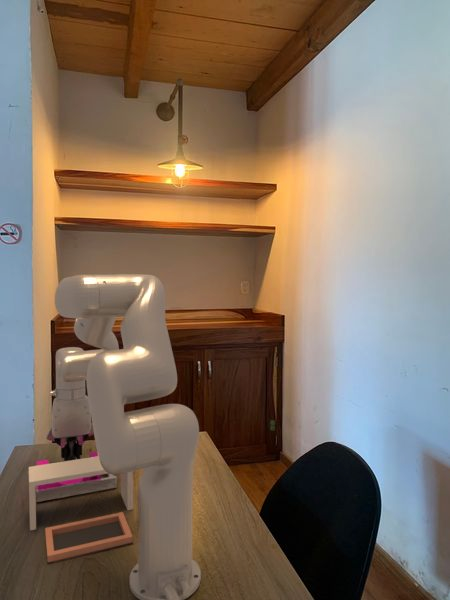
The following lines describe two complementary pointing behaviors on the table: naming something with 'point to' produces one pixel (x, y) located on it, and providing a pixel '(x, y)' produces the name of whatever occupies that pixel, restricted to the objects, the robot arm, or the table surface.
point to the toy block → (67, 480)
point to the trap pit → (87, 537)
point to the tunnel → (70, 472)
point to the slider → (75, 487)
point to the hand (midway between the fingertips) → (71, 458)
